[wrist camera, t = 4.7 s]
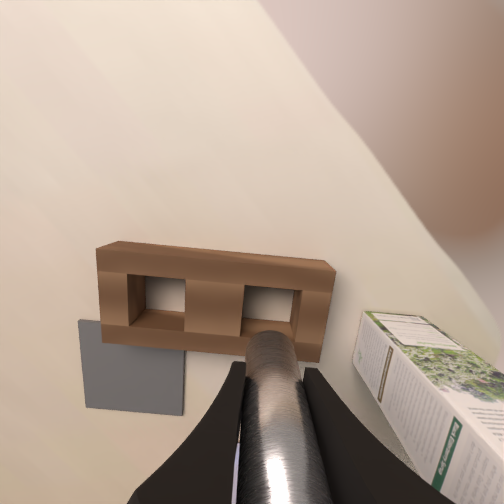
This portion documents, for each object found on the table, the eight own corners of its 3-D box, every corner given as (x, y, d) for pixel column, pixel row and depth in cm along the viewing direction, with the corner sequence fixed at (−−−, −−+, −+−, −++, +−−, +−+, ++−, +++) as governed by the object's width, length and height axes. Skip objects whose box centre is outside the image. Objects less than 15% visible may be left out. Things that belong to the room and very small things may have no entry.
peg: (284, 377, 15) (327, 640, 6) (239, 365, 15) (216, 616, 6) (301, 337, 14) (374, 569, 5) (254, 324, 14) (251, 540, 5)
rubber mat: (182, 413, 25) (181, 416, 24) (87, 404, 24) (85, 407, 24) (185, 329, 22) (184, 331, 22) (80, 319, 22) (77, 321, 22)
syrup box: (349, 362, 23) (502, 633, 9) (361, 307, 21) (566, 524, 7) (407, 367, 23) (654, 646, 9) (423, 312, 21) (747, 539, 7)
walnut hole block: (310, 340, 22) (318, 362, 19) (122, 323, 22) (101, 342, 19) (324, 260, 20) (336, 271, 17) (118, 240, 20) (95, 248, 17)
